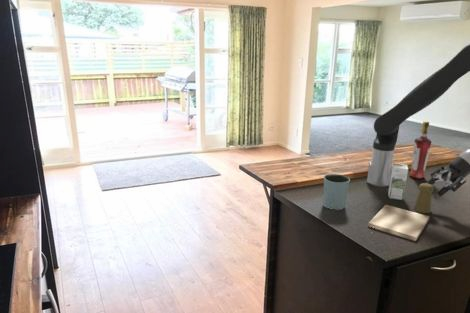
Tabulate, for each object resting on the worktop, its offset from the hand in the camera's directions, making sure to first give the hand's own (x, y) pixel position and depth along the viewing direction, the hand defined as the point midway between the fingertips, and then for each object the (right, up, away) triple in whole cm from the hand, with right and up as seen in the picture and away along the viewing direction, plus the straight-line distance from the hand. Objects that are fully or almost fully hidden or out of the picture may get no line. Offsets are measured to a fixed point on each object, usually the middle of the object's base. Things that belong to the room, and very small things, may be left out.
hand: (431, 190), depth 143 cm
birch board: (-17, -11, -9) cm, 22 cm away
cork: (-3, -8, +2) cm, 9 cm away
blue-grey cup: (-37, -7, +5) cm, 38 cm away
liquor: (+13, +3, +38) cm, 40 cm away
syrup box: (-8, -5, +14) cm, 17 cm away
